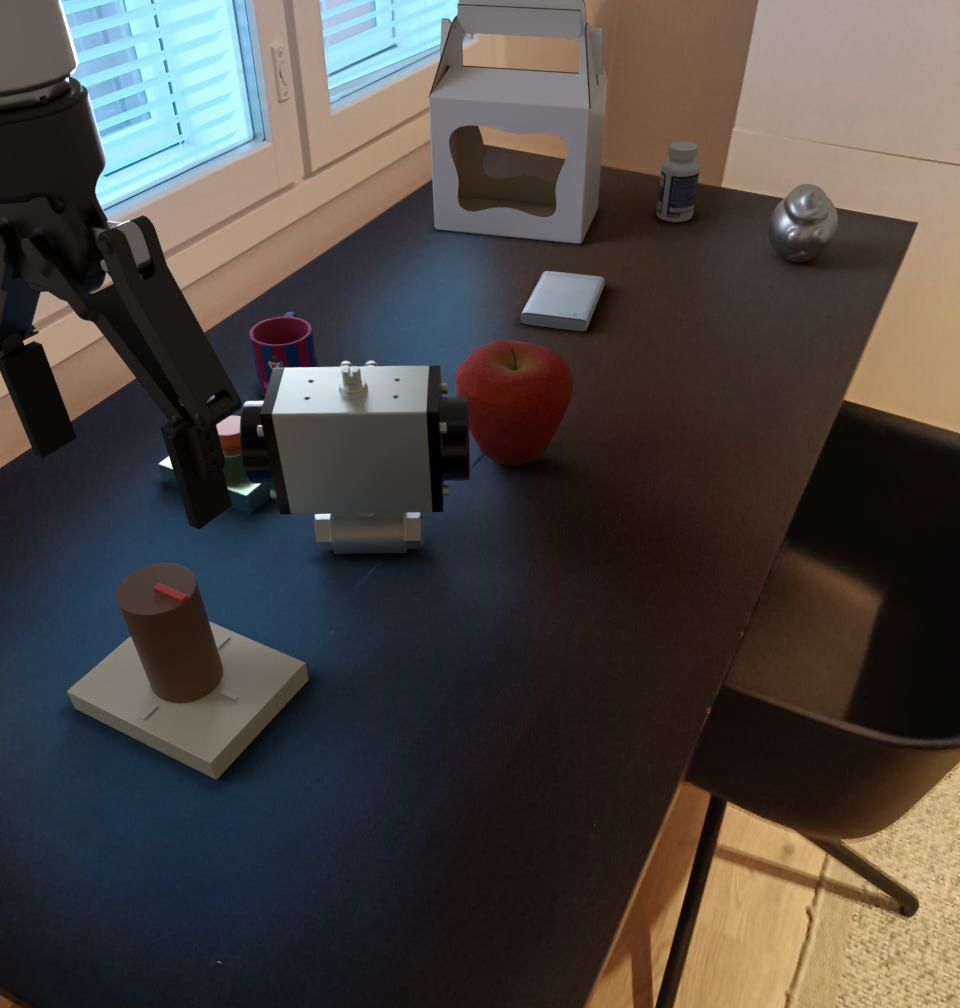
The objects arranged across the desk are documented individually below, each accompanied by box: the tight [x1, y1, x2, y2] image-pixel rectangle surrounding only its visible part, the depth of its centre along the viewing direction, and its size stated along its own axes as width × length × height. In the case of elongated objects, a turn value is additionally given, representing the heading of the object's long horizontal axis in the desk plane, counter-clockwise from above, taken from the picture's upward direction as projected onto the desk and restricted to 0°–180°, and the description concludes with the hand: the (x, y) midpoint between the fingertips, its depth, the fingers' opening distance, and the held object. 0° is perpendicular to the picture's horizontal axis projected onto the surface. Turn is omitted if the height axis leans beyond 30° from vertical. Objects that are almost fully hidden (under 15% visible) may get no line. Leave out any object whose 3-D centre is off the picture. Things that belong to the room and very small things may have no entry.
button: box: [216, 414, 241, 450], centre depth 89 cm, size 4×4×2 cm
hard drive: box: [520, 270, 605, 332], centre depth 117 cm, size 2×8×12 cm
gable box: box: [428, 0, 609, 245], centre depth 127 cm, size 22×13×28 cm, turn 75°
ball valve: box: [240, 360, 471, 555], centre depth 78 cm, size 18×8×18 cm, turn 91°
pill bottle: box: [655, 140, 701, 223], centre depth 134 cm, size 5×5×10 cm
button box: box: [157, 447, 275, 515], centre depth 91 cm, size 11×10×4 cm
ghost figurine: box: [767, 183, 839, 263], centre depth 123 cm, size 9×9×10 cm
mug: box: [248, 311, 319, 398], centre depth 103 cm, size 7×10×7 cm
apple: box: [454, 340, 574, 467], centre depth 89 cm, size 11×11×12 cm
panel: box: [66, 621, 310, 781], centre depth 71 cm, size 14×11×2 cm
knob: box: [115, 562, 223, 703], centre depth 67 cm, size 5×5×9 cm
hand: (130, 479), depth 56 cm, fingers open, 13 cm apart
